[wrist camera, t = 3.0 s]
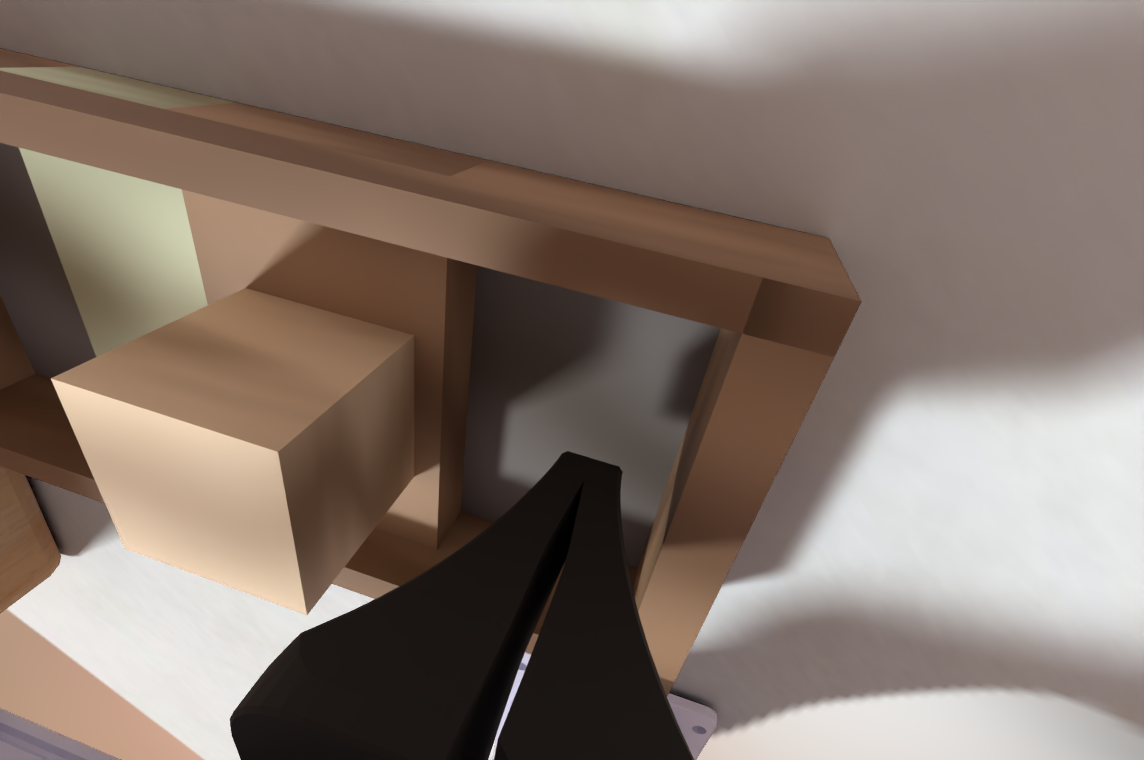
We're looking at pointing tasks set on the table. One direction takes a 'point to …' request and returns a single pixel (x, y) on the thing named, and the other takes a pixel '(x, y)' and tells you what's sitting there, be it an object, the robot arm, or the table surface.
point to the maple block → (249, 441)
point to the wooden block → (22, 540)
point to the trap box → (424, 313)
